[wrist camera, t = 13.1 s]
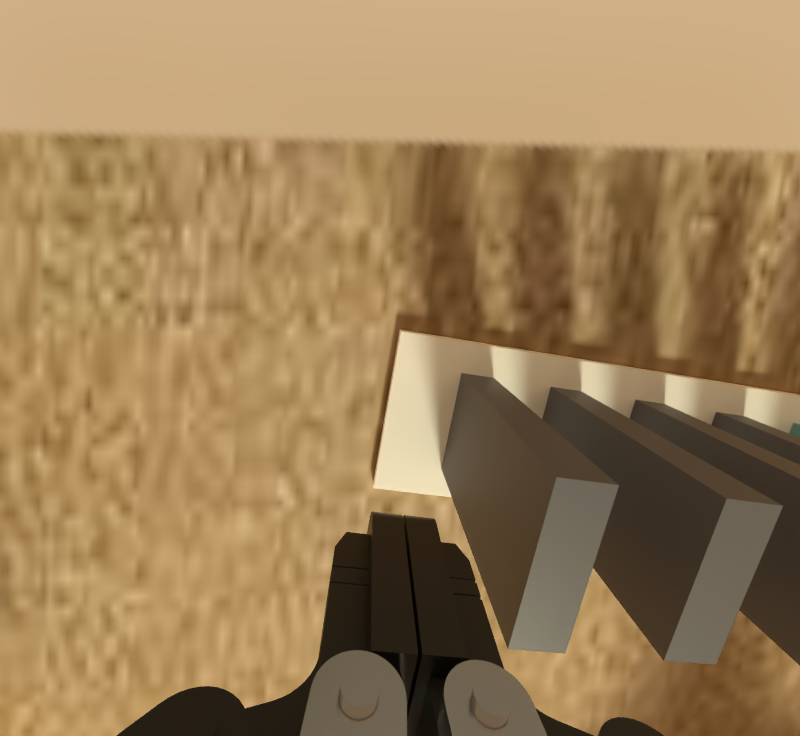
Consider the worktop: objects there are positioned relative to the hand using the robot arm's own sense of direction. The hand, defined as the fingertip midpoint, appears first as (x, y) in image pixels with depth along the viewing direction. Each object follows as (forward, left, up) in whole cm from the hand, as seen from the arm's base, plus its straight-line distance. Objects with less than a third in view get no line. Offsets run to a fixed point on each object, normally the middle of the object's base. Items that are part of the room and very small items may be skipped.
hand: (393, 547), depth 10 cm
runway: (+13, 0, -11) cm, 17 cm away
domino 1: (+4, 0, -10) cm, 11 cm away
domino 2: (+9, 0, -10) cm, 13 cm away
